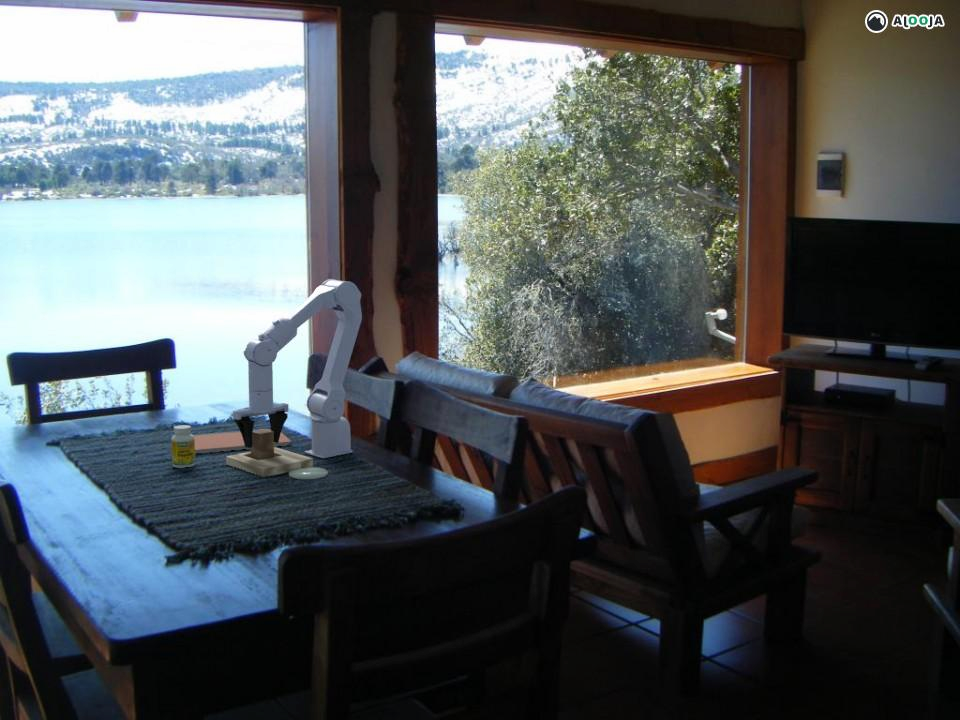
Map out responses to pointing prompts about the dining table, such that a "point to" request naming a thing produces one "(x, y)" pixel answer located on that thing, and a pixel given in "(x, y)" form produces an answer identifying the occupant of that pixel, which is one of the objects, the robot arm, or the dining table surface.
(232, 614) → the dining table surface
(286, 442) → the notebook
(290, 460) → the board
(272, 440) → the walnut block
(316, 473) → the coaster
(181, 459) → the supplement bottle
